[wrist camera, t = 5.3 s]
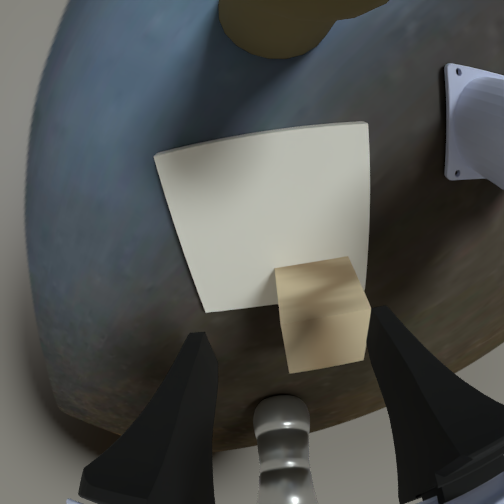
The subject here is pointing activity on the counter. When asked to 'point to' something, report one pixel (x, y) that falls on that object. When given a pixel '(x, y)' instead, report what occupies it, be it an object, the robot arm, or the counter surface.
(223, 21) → the cork
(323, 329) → the cube
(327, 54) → the counter surface
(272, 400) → the plastic bottle
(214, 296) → the plate
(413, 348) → the robot arm
